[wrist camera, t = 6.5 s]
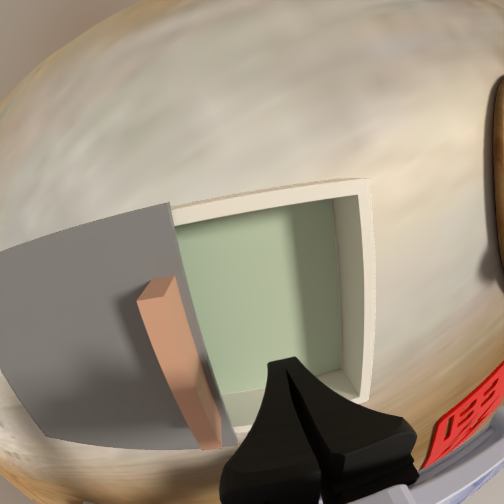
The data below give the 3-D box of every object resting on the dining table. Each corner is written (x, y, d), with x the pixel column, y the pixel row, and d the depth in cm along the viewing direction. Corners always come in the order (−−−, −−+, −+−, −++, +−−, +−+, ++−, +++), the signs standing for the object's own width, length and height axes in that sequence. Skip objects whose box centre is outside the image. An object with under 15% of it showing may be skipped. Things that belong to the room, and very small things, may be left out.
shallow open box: (348, 368, 22) (368, 400, 17) (150, 402, 21) (140, 438, 16) (337, 178, 18) (368, 178, 13) (84, 228, 17) (50, 241, 12)
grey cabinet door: (237, 439, 17) (240, 472, 14) (48, 432, 16) (36, 454, 13) (169, 202, 12) (152, 207, 9) (-36, 266, 12) (-62, 278, 8)
